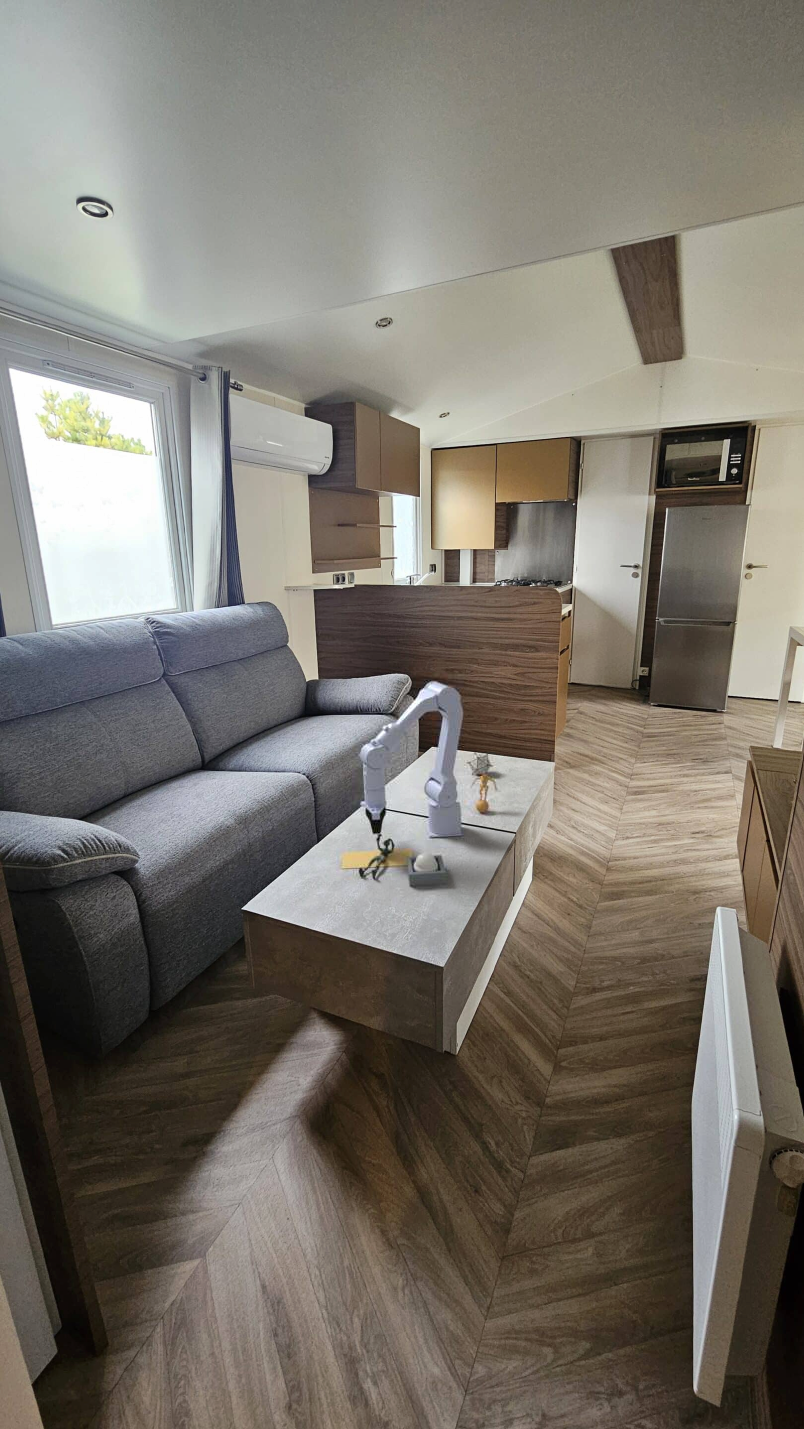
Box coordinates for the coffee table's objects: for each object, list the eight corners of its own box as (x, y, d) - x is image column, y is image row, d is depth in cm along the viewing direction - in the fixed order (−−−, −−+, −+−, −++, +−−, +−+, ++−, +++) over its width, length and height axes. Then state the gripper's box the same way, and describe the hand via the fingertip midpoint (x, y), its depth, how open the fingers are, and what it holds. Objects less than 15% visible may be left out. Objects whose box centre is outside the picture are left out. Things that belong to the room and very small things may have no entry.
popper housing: (441, 866, 161) (441, 855, 160) (445, 884, 152) (445, 872, 151) (407, 868, 160) (406, 857, 160) (409, 886, 152) (409, 874, 151)
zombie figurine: (357, 851, 155) (380, 828, 169) (358, 876, 157) (381, 850, 170) (376, 854, 153) (398, 830, 167) (378, 879, 155) (399, 853, 168)
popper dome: (436, 865, 159) (436, 847, 158) (439, 877, 153) (438, 858, 152) (413, 867, 159) (412, 848, 157) (415, 879, 153) (414, 860, 152)
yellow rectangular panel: (411, 849, 171) (411, 848, 171) (414, 865, 162) (414, 864, 162) (342, 852, 170) (342, 852, 170) (341, 869, 161) (341, 868, 161)
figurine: (467, 812, 193) (467, 776, 190) (473, 805, 198) (473, 770, 195) (493, 816, 190) (494, 779, 187) (498, 808, 195) (499, 773, 192)
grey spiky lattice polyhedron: (475, 783, 227) (464, 758, 230) (496, 774, 227) (485, 749, 230) (474, 779, 219) (463, 754, 221) (496, 770, 218) (485, 744, 221)
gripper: (359, 778, 175) (362, 822, 178) (359, 798, 161) (362, 845, 164) (384, 777, 175) (386, 821, 179) (386, 796, 161) (388, 844, 165)
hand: (376, 832), depth 171 cm, fingers closed
